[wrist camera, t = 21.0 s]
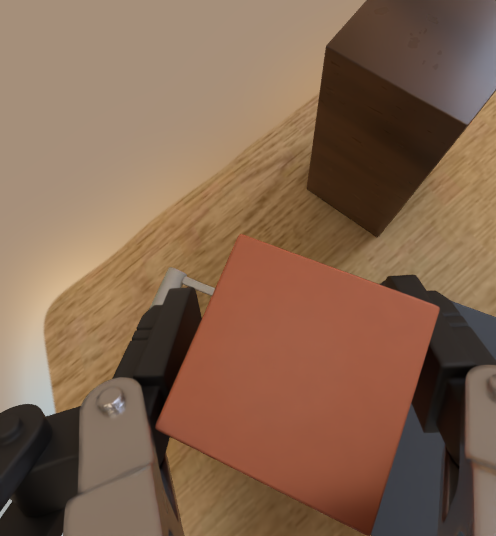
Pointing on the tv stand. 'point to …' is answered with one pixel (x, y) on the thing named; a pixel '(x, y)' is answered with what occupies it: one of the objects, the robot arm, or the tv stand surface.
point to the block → (302, 379)
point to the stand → (398, 100)
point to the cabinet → (422, 461)
